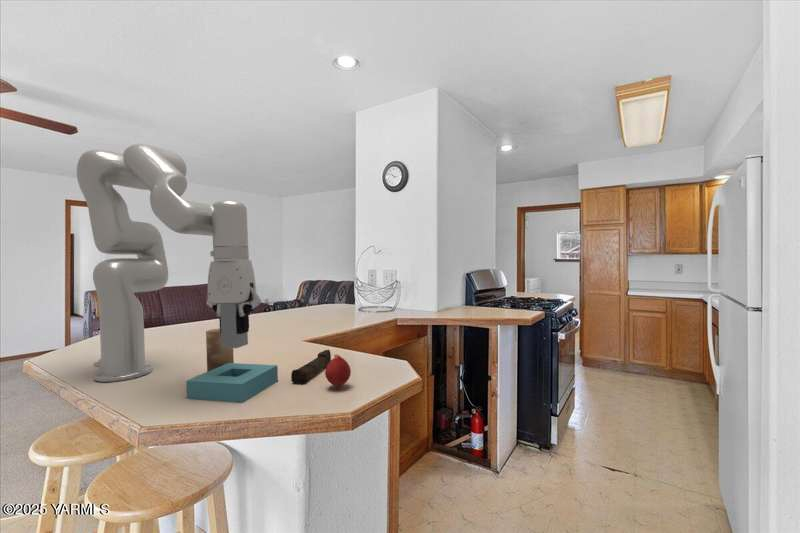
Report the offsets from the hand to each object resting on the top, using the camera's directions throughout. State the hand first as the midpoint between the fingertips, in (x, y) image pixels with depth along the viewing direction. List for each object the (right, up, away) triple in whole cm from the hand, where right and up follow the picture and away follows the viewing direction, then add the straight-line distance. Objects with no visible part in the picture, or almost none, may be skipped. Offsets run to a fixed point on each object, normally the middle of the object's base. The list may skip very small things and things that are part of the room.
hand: (234, 331), depth 87 cm
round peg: (-9, -14, +12) cm, 20 cm away
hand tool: (+16, -14, +12) cm, 24 cm away
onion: (+24, -13, 0) cm, 28 cm away
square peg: (0, -3, 0) cm, 3 cm away
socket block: (0, -14, 0) cm, 14 cm away
